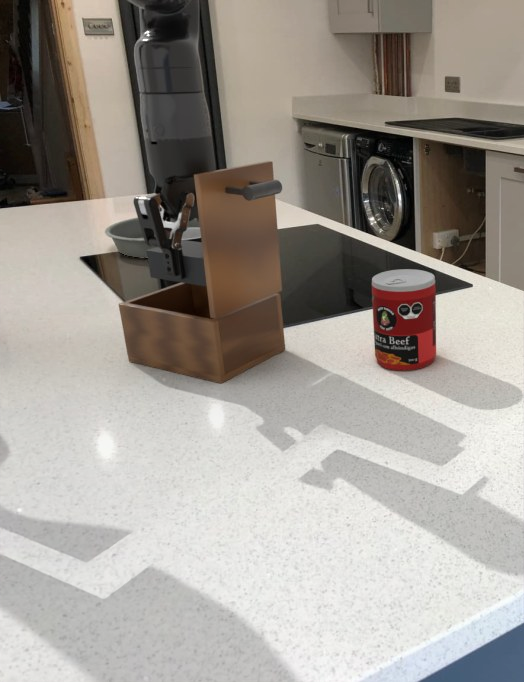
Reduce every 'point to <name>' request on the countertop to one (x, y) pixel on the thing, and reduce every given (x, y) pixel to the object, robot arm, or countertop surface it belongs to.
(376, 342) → the canned food
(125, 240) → the cake pan
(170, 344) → the bread box
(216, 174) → the lid
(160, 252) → the grey box with knob
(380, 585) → the countertop surface
